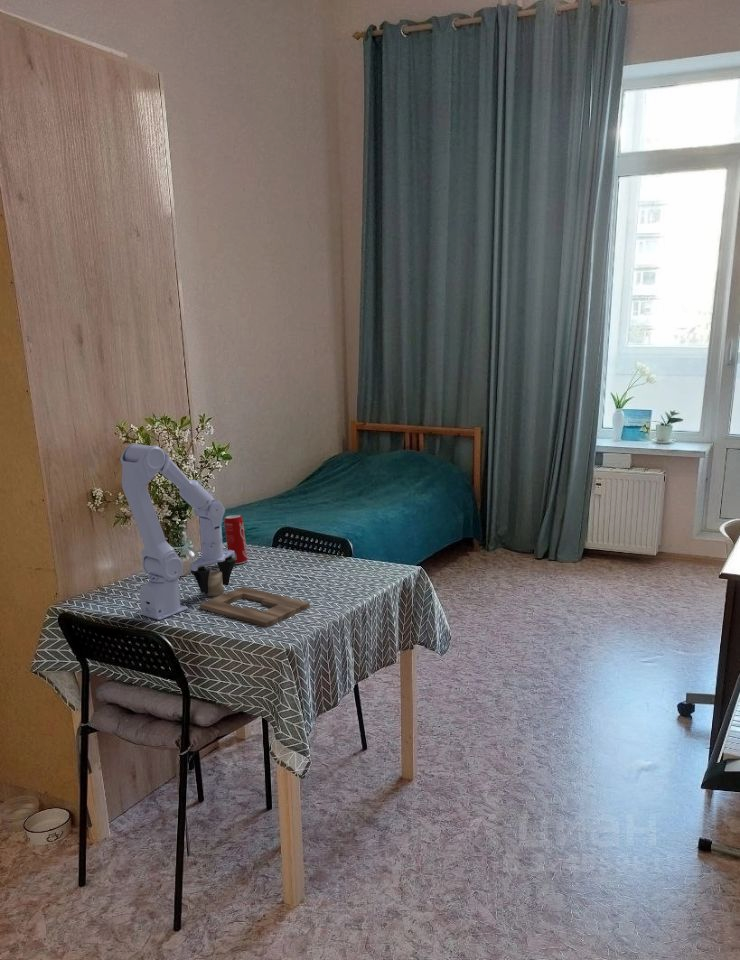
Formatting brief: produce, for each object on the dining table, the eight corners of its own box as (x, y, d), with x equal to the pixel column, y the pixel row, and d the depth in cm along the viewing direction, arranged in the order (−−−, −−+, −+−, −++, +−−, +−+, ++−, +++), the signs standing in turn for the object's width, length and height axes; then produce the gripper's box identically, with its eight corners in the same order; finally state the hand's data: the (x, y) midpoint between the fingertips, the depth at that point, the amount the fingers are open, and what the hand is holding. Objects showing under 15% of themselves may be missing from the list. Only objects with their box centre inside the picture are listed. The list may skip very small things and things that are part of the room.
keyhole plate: (266, 627, 179) (266, 622, 179) (199, 608, 193) (199, 604, 193) (309, 607, 192) (309, 602, 192) (243, 590, 206) (243, 586, 205)
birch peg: (214, 597, 201) (213, 576, 200) (203, 594, 203) (202, 573, 202) (226, 592, 204) (225, 572, 203) (215, 590, 207) (214, 569, 206)
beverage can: (246, 564, 229) (243, 517, 226) (225, 565, 229) (222, 518, 226) (249, 559, 235) (246, 513, 232) (228, 559, 235) (225, 513, 232)
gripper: (201, 550, 193) (204, 599, 195) (241, 537, 204) (244, 583, 207) (183, 546, 197) (187, 594, 199) (223, 533, 208) (226, 579, 211)
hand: (214, 588), depth 203 cm, fingers open, 7 cm apart
